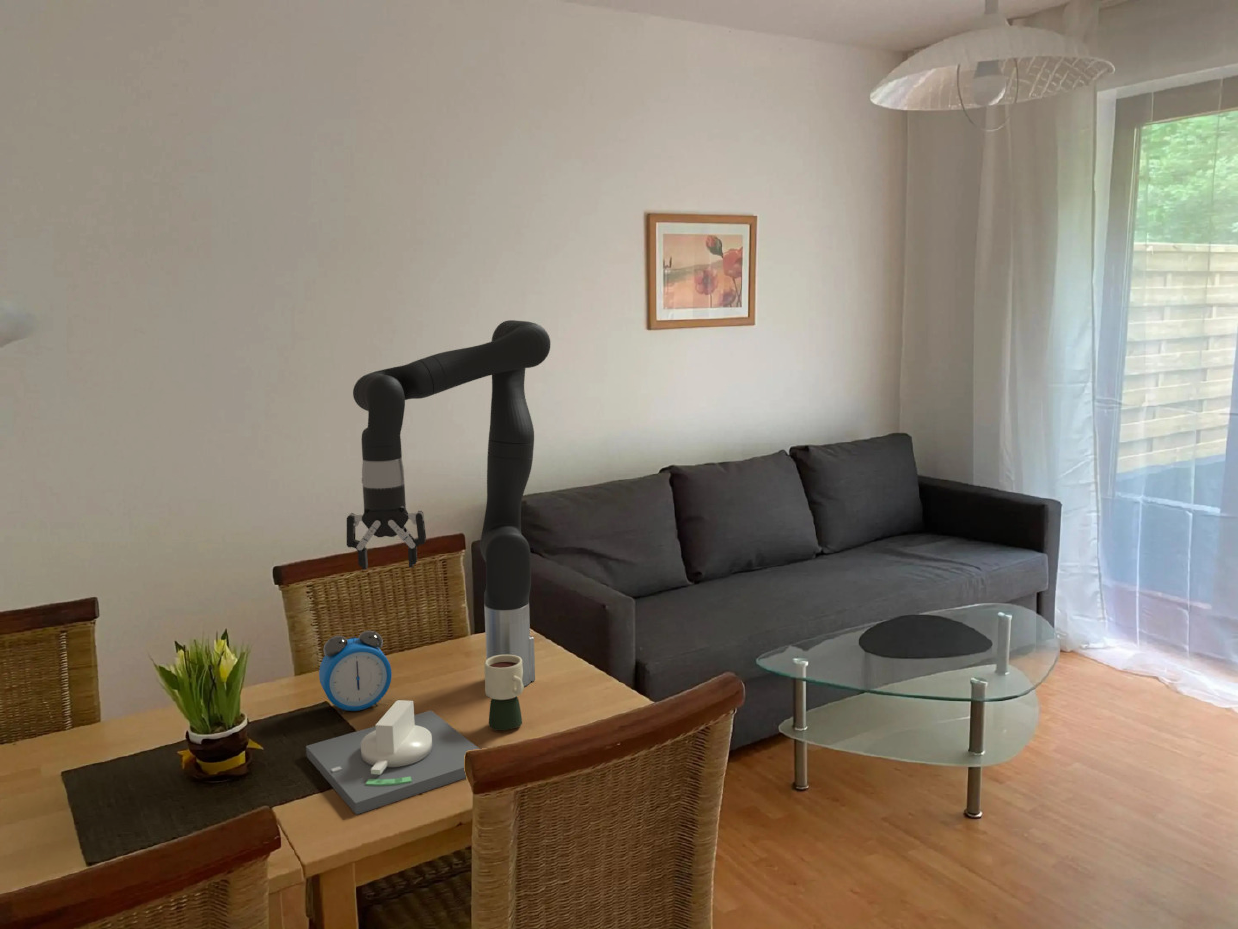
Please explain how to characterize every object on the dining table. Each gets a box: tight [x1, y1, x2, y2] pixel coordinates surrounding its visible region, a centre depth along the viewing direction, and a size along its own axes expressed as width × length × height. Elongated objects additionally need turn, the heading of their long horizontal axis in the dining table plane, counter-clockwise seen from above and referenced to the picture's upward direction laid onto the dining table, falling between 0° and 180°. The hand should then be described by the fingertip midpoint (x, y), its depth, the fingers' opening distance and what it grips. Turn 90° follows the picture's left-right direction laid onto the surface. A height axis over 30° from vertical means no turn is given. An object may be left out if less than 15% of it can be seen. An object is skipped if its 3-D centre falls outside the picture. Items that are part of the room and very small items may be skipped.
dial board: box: [305, 710, 480, 815], centre depth 164 cm, size 24×24×2 cm
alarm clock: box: [318, 630, 393, 714], centre depth 186 cm, size 13×6×15 cm, turn 117°
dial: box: [361, 699, 432, 774], centre depth 161 cm, size 16×12×7 cm
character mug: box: [484, 655, 525, 731], centre depth 177 cm, size 11×7×13 cm, turn 40°
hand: (388, 567), depth 177 cm, fingers open, 8 cm apart
